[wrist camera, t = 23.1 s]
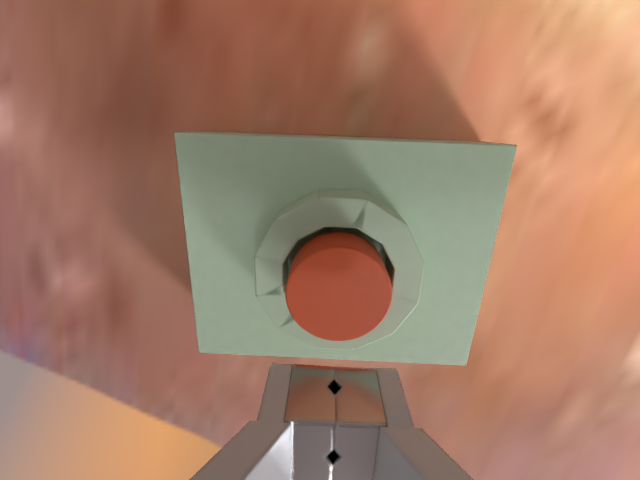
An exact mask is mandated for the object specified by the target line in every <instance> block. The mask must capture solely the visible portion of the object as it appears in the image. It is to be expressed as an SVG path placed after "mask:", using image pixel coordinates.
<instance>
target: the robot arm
mask: <svg viewBox="0 0 640 480" xmlns="http://www.w3.org/2000/svg"><path fill="white" fill-rule="evenodd" d="M190 480H474V479H473V478H471V477H470V476H469V475H468V474H467V473H466V472H465V471H464V470H463V469H462V468H461V467H460V466H459V465H458V464H457V463H456V462H455V461H454V460H453V459H452V458H451V457H450V456H449V455H448V454H447V453H446V452H445V451H444V450H443V449H442V448H441V447H440V446H439V445H438V444H437V443H436V442H435V441H434V440H433V439H432V438H431V437H430V436H429V435H428V434H427V433H426V432H425V431H424V430H423V429H420V428H415V427H414V424H413V421H412V417H411V414H410V410H409V407H408V404H407V400H406V397H405V394H404V390H403V387H402V383H401V380H400V377H399V373H398V371H397V370H396V369H395V368H375V369H374V368H353V367H329V366H314V365H299V364H293V365H292V364H279V363H272V364H271V366H270V368H269V373H268V377H267V381H266V385H265V389H264V394H263V398H262V402H261V406H260V411H259V415H258V419H257V421H250V422H249V423H247V424H246V425H245V426H244V427H243V428H242V429H241V430H240V431H239V432H238V433H237V434H236V435H235V436H234V437H233V438H232V439H231V440H230V441H229V442H228V443H227V444H226V445H225V446H224V447H223V448H222V449H221V450H220V451H219V452H218V453H217V454H215V456H213V457H212V458H211V459H210V460H209V461H208V462H207V463H206V464H205V465H204V466H203V467H202V468H201V469H200V470H199V471H198V472H197V473H196V474H195V475H194V476H193V477H192V478H191V479H190Z"/></svg>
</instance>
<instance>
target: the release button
mask: <svg viewBox="0 0 640 480" xmlns="http://www.w3.org/2000/svg"><path fill="white" fill-rule="evenodd" d="M392 293H393V292H392V284H391V280H390V277H389V275H388V272H387V270H386V267H385V265H384V262H383V260H382V257H381V256H380V254H379V252H378V251H377V250H376V248H375V247H374V246H373V245H372V244H371V243H369V242H368V241H367V240H365V239H363V238H361V237H360V236H357V235H354V234H351V233H346V232H330V233H325V234H322V235H319V236H317V237H315V238H313V239H311V240H309V241H308V242H307V243H305V244H304V245H303V246H302V247H301V248H300V250H299V251H298V252H297V254H296V255H295V257H294V259H293V262H292V265H291V269H290V272H289V276H288V279H287V283H286V289H285V298H286V303H287V307H288V309H289V312H290V314H291V315H292V317H293V319H294V320H295V321H296V323H297V324H298V325H299V326H300V327H301V328H303V329H304V330H305V331H307V332H308V333H310V334H312V335H314V336H316V337H319V338H322V339H326V340H331V341H346V340H352V339H356V338H359V337H362V336H364V335H366V334H368V333H369V332H371V331H372V330H374V329H375V328H376V327H377V326H378V325H379V324H380V323H381V322H382V321H383V319H384V318H385V317H386V315H387V313H388V311H389V309H390V306H391V302H392Z"/></svg>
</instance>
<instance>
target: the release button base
mask: <svg viewBox="0 0 640 480" xmlns="http://www.w3.org/2000/svg"><path fill="white" fill-rule="evenodd" d="M174 137H175V146H176V155H177V164H178V173H179V181H180V190H181V199H182V208H183V217H184V226H185V234H186V243H187V252H188V261H189V270H190V279H191V287H192V296H193V305H194V314H195V323H196V332H197V340H198V349H199V352H200V353H221V354H241V355H262V356H282V357H302V358H323V359H343V360H364V361H384V362H405V363H425V364H446V365H466V364H467V360H468V355H469V351H470V347H471V343H472V338H473V334H474V330H475V325H476V321H477V317H478V312H479V308H480V304H481V299H482V295H483V291H484V286H485V282H486V278H487V273H488V269H489V265H490V260H491V256H492V252H493V247H494V243H495V239H496V235H497V230H498V226H499V222H500V217H501V213H502V209H503V204H504V200H505V196H506V191H507V187H508V183H509V178H510V174H511V170H512V165H513V161H514V157H515V152H516V148H517V145H512V144H502V143H493V142H483V141H457V140H430V139H402V138H375V137H348V136H320V135H293V134H266V133H239V132H211V131H196V132H175V133H174ZM330 232H346V233H351V234H354V235H357V236H360V237H361V238H363V239H365V240H367V241H368V242H369V243H371V244H372V245H373V246H374V247H375V248H376V250H377V251H378V252H379V254H380V256H381V257H382V260H383V262H384V265H385V267H386V270H387V272H388V275H389V277H390V280H391V284H392V292H393V293H392V302H391V306H390V309H389V311H388V313H387V315H386V317H385V318H384V319H383V321H382V322H381V323H380V324H379V325H378V326H377V327H376V328H375V329H374V330H372V331H371V332H369V333H368V334H366V335H364V336H362V337H359V338H356V339H352V340H346V341H331V340H326V339H322V338H319V337H316V336H314V335H312V334H310V333H308V332H307V331H305V330H304V329H303V328H301V327H300V326H299V325H298V324H297V323H296V321H295V320H294V319H293V317H292V315H291V314H290V312H289V309H288V307H287V303H286V298H285V289H286V283H287V279H288V276H289V272H290V269H291V265H292V262H293V259H294V257H295V255H296V254H297V252H298V251H299V250H300V248H301V247H302V246H303V245H304V244H305V243H307V242H308V241H309V240H311V239H313V238H315V237H317V236H319V235H322V234H325V233H330Z"/></svg>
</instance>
